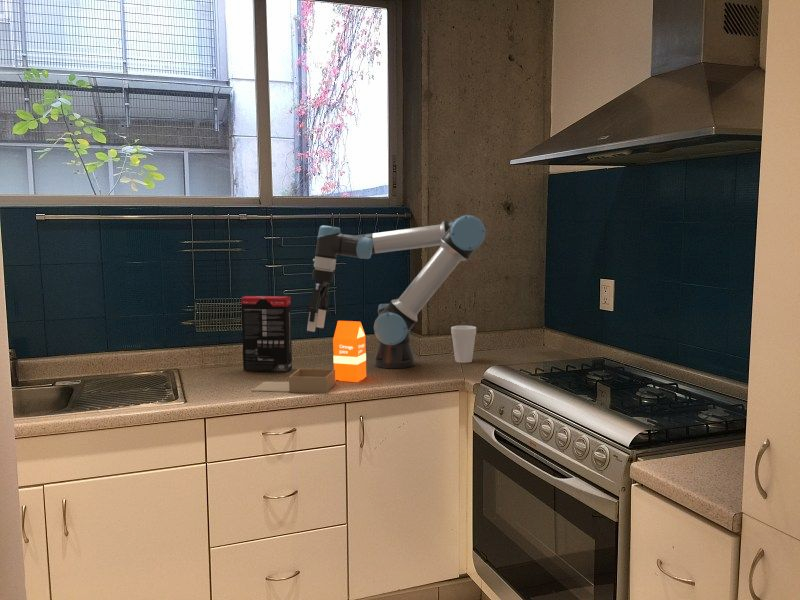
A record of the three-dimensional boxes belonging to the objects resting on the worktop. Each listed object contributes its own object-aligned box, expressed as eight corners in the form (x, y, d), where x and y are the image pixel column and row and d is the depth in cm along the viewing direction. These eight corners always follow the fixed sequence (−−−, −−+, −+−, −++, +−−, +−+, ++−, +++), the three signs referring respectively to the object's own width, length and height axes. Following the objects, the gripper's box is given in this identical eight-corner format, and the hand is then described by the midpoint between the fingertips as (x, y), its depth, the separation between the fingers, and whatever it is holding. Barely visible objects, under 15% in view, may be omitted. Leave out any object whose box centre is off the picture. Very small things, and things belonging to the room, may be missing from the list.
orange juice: (357, 382, 233) (356, 323, 230) (333, 380, 236) (332, 322, 233) (366, 377, 240) (365, 320, 237) (343, 375, 243) (342, 319, 241)
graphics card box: (293, 368, 255) (291, 295, 252) (288, 372, 248) (286, 297, 245) (248, 368, 257) (245, 295, 254) (242, 372, 250) (239, 297, 247)
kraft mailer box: (335, 384, 230) (335, 369, 230) (327, 392, 219) (326, 377, 218) (264, 382, 233) (263, 368, 233) (252, 391, 222) (251, 376, 221)
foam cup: (480, 360, 266) (480, 326, 264) (469, 364, 258) (469, 330, 257) (458, 357, 271) (458, 324, 269) (446, 361, 263) (446, 328, 262)
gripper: (321, 268, 256) (313, 324, 257) (304, 268, 231) (296, 330, 232) (341, 271, 255) (333, 327, 256) (326, 271, 230) (317, 334, 232)
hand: (315, 329), depth 244 cm, fingers open, 13 cm apart
